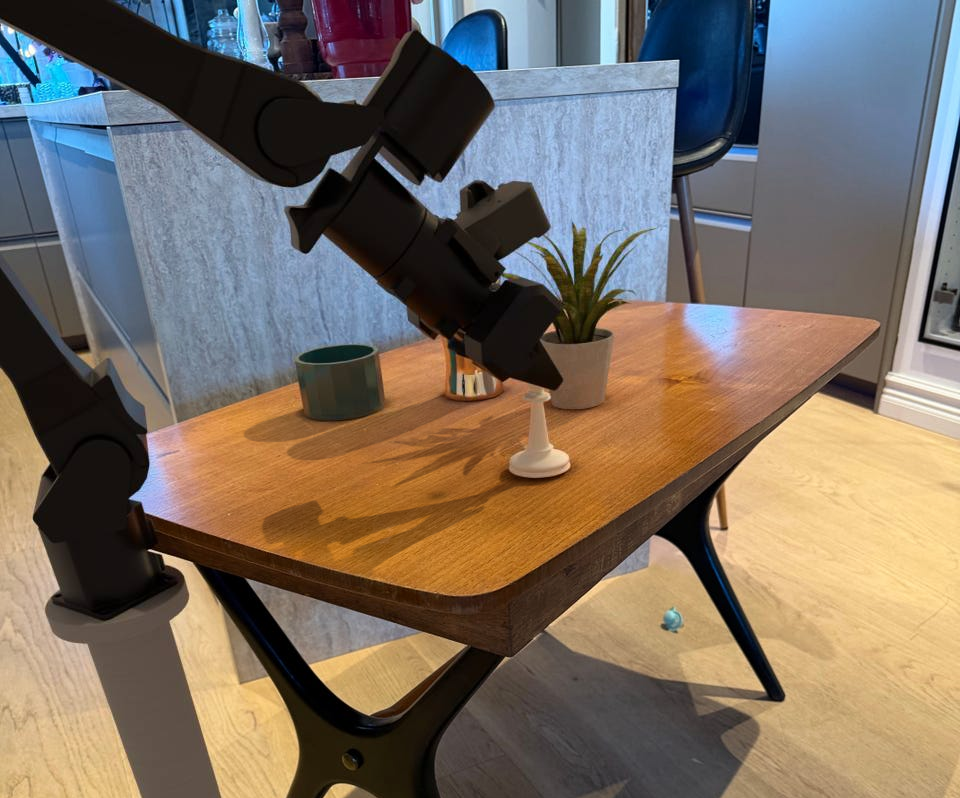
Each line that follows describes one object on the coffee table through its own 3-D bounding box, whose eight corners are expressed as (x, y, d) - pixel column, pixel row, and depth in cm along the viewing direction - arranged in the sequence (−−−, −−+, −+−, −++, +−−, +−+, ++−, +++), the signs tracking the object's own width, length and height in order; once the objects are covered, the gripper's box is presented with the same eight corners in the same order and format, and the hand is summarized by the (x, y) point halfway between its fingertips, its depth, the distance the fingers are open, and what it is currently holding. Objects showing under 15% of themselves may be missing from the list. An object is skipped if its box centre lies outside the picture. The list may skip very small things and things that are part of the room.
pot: (349, 424, 86) (340, 367, 84) (287, 416, 91) (276, 361, 88) (401, 400, 92) (394, 346, 89) (341, 393, 96) (333, 341, 94)
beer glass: (433, 390, 95) (417, 236, 87) (495, 380, 96) (485, 228, 89) (451, 406, 89) (435, 243, 81) (517, 395, 90) (507, 234, 83)
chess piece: (504, 478, 70) (496, 347, 65) (513, 456, 74) (507, 332, 69) (567, 478, 69) (564, 345, 64) (573, 456, 73) (571, 330, 68)
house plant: (614, 371, 96) (614, 202, 87) (688, 400, 84) (695, 210, 76) (492, 395, 91) (479, 220, 83) (552, 429, 80) (545, 231, 72)
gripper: (526, 137, 51) (686, 314, 59) (430, 139, 66) (568, 279, 75) (408, 300, 53) (580, 448, 61) (342, 265, 68) (486, 387, 77)
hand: (553, 382), depth 68 cm, fingers closed on chess piece
